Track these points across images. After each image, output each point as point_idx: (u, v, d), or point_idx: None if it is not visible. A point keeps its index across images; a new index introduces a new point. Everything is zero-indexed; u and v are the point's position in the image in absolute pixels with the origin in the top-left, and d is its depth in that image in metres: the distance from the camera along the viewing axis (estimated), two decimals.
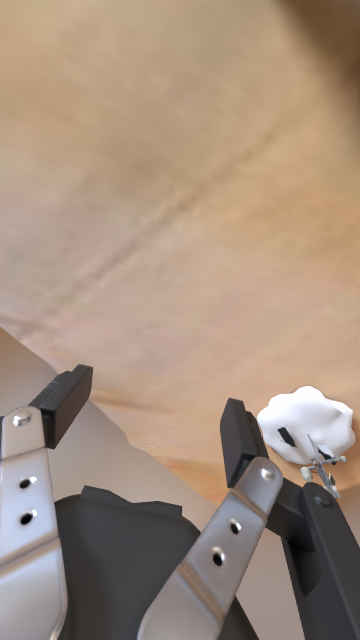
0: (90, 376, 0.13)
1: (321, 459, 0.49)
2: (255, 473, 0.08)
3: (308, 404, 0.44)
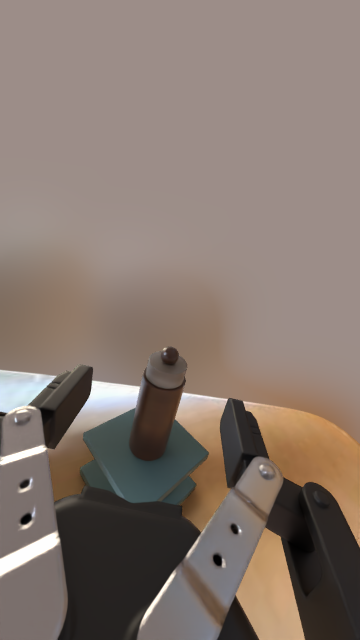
0: (90, 376, 0.13)
1: None
2: (255, 473, 0.08)
3: None
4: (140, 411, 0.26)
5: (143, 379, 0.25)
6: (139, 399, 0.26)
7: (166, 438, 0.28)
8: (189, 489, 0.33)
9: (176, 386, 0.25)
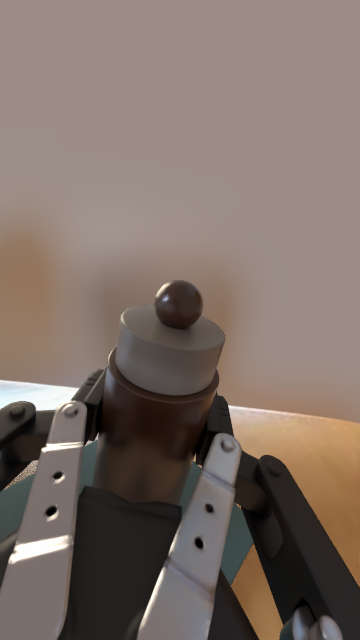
0: None
1: None
2: (218, 450, 0.09)
3: None
4: (102, 456, 0.10)
5: (108, 371, 0.09)
6: (101, 424, 0.10)
7: None
8: None
9: (199, 388, 0.09)
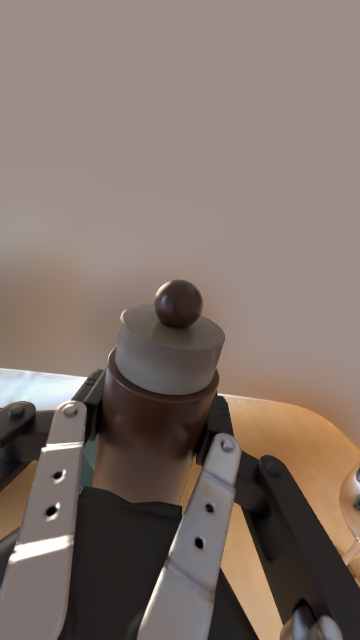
0: None
1: None
2: (218, 450, 0.09)
3: None
4: (102, 455, 0.10)
5: (107, 371, 0.09)
6: (101, 424, 0.10)
7: None
8: None
9: (199, 387, 0.09)
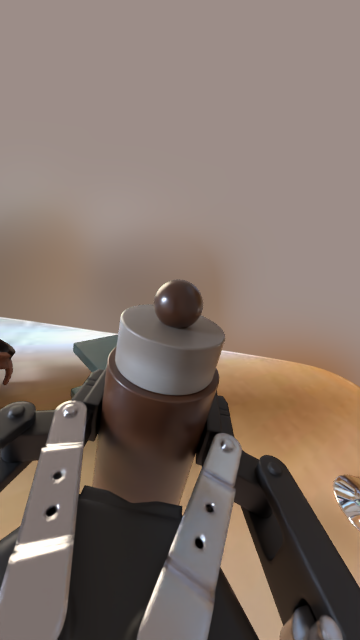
0: None
1: None
2: (218, 450, 0.09)
3: None
4: (102, 455, 0.10)
5: (107, 371, 0.09)
6: (101, 424, 0.10)
7: None
8: None
9: (199, 388, 0.09)
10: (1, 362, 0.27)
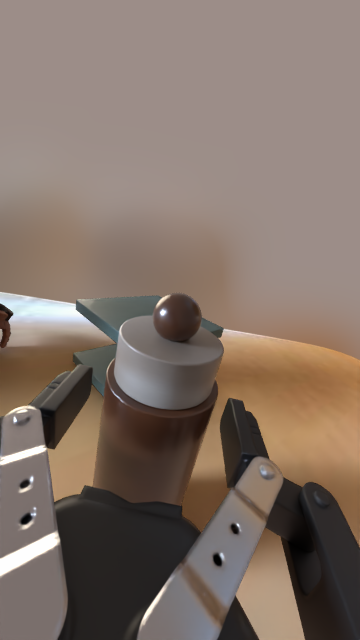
0: (90, 376, 0.13)
1: None
2: (255, 473, 0.08)
3: None
4: (101, 467, 0.10)
5: (106, 384, 0.09)
6: (100, 436, 0.10)
7: None
8: None
9: (198, 401, 0.09)
10: None
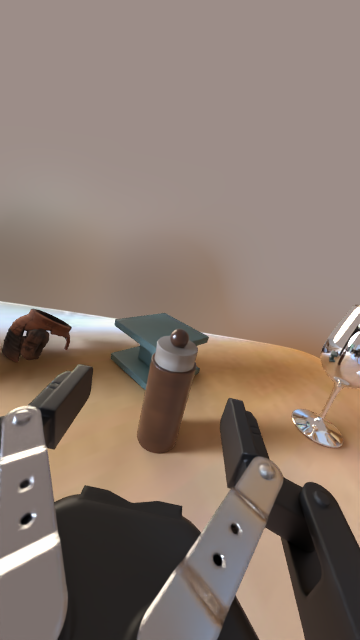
0: (90, 376, 0.13)
1: None
2: (255, 473, 0.08)
3: None
4: (149, 398, 0.25)
5: (152, 364, 0.24)
6: (148, 386, 0.25)
7: (177, 428, 0.26)
8: None
9: (187, 370, 0.23)
10: (66, 332, 0.40)
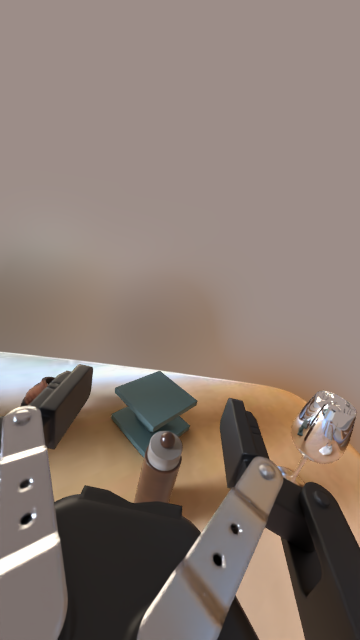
0: (90, 376, 0.13)
1: None
2: (255, 473, 0.08)
3: None
4: (143, 486, 0.30)
5: (145, 460, 0.30)
6: (142, 476, 0.31)
7: None
8: (185, 427, 0.48)
9: (173, 467, 0.29)
10: None
